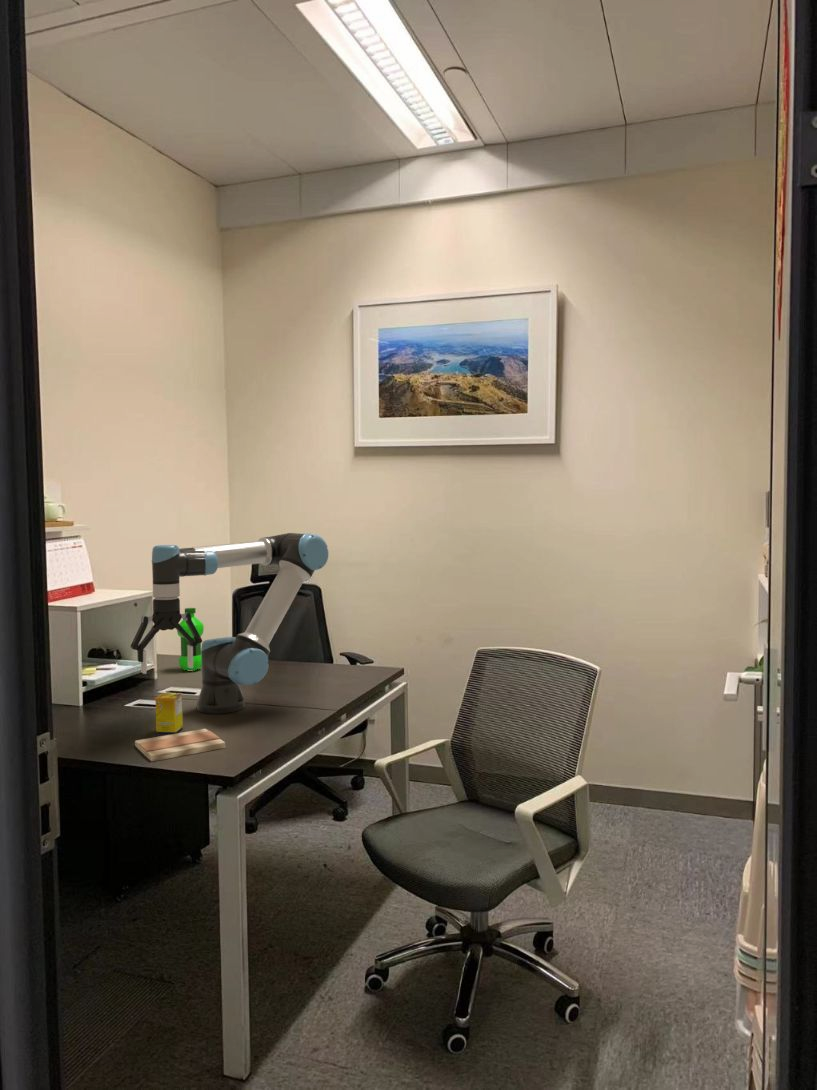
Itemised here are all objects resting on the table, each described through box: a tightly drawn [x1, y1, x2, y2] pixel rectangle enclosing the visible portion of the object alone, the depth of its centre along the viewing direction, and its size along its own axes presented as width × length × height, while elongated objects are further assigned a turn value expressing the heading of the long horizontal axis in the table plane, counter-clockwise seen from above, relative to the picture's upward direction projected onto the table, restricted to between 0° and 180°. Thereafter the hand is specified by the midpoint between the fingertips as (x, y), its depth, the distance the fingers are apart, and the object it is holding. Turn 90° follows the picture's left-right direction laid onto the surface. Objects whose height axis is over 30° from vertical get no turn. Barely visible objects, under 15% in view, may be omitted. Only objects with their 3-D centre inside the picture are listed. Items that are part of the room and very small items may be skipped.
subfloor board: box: [134, 728, 226, 763], centre depth 216 cm, size 20×16×2 cm
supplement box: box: [154, 692, 184, 736], centre depth 230 cm, size 6×6×11 cm
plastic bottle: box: [176, 607, 205, 671], centre depth 314 cm, size 10×10×25 cm
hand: (167, 670), depth 229 cm, fingers open, 13 cm apart
